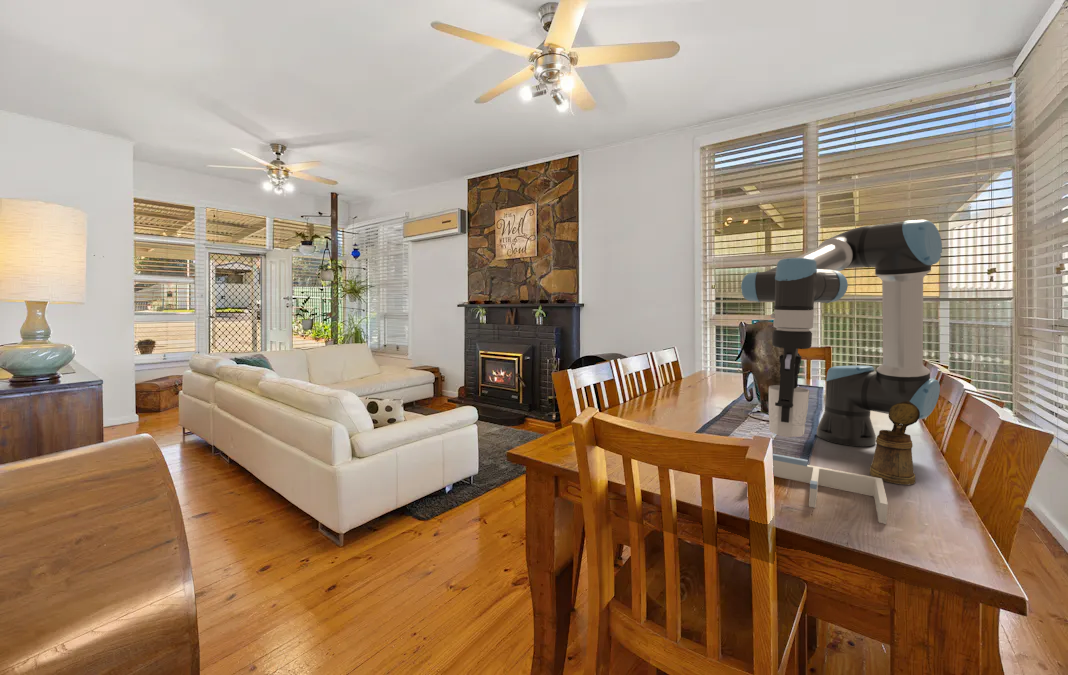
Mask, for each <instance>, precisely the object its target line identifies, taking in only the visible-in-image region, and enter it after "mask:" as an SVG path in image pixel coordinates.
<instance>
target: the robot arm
mask: <svg viewBox="0 0 1068 675" xmlns="http://www.w3.org/2000/svg"><path fill="white" fill-rule="evenodd" d="M942 253H943V242H942V237H941V234H940V231H939V229H938V228H937V226H936V225H935V224H934V223H933V221H930V220H927V219H917V220H916V219H915V220H913V219H912V220H909V219H907V220H905V221H896V222H888V223H881V224H880V223H879V224H874V225H873V224H872V225H864V226H859V227H855V228H853V229H849V230H847V231H844V232H841V233H838V234H837V235H835V236H831V237H829V238H828V239H825V240H824V241H822V242H821V243H819V245H818V247H817V248H814V249H812V250H810V251H807V252H805V253H803V254H800V255H799V256H797V257H789V258H782V259H779V260H778V261H777V263H776V266H775V267H772V268H771V269H769V270H766V271H756V272H749V273H747V274H746V275H744V277H743V278H742V281H741V285H740V289H741V295H742V297H743V298H744V299H745V300H746V301H748V302H757V303H774V307H773V309H774V310H773V312H774V313H771V314H770V318H771V319H773V327H774V328H776V329H774V330H773V331H772V338H771V339H772V341H771V345H772V346H773V347H774V348H781V349H783V354H780V355H779V375H780V376H779V385H780V388H779V400H778V403H776V402H775V406H779V411H778V429H777V434H776V436H779V437H785V438H793V437H792V424H793V394H794V389H795V388H796V387H799V386H798V384H799V382H798V381H799V375H800V371H801V364H802V355H800V353H799V349H801V350H806V349H810V348H811V347H812V342H813V339H812V338H813V332H812V331H811V330H812V328H814V316H815V315H814V314H815V308H814V306H815V303H822V304H824V303H825V304H829V303H835V302H837V301H839V300H840V299H841V298H843V297H844V296H845V295H846V292H847V291H848V286H849V284H848V279H847V277H846V276H845V275H844V274H843V273H841V272H840V271H843V270H845V269H855V268H861V269H862V268H867V269H868V268H875V269H874V270H875V271H874V272H875V273H874V274H875V276H876V277H877V278H878V279H880V280H881V281H882V282H881V288H882V289H881V292H882V293H881V294H882V296H881V297H882V298H881V300H882V303H881V304H882V364H880V365H879V366H878V367H876V371H875V368H874V366H872V365H858V364H857V365H854V364H852V365H836V366H832V367H830V368H829V369H828V370H827V372H826V379H825V384H826V385H825V395H824V396H825V397H824V399H825V400H824V412H823V415H822V417H821V419H820V421H819V423H818V426H817V428H816V436H817V437H818V438H820V439H821V440H824V441H826V442H830V443H834V444H839V445H845V446H850V447H851V446H852V447H871V446H876V439H877V436H876V433H875V429H874V427H873V423H872V420H871V412H876V413H880V414H886V415H889V411H890V409H891V407H892V406H893V405H895V404H897V403H900V402H904V401H909V402H911V403H913V404H914V405H915V406H916V407H917V408H918V409H919V412H920V416H919V419H918V420H924V419H926V418H927V417H929V416H930V415H931V414H932V413H933V411H934V410H935V408H936V405H937V403H938V401H939V397H940V392H941V385H940V381H939V380H937V379H935V378H931V370H930V369H929V368H928V367H926V366H925V365H924V364H923V363H924V362H923V360H924V346H923V345H924V278H925V276H927V275H928V274H929V273H930V272H931V271H932V266H933V265H936V264H937V263H939V261H940V260H941V256H942ZM783 399H786V400H783Z"/></svg>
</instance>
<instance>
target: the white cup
mask: <svg viewBox="0 0 1068 675" xmlns="http://www.w3.org/2000/svg"><path fill="white" fill-rule="evenodd" d="M779 388H780V384H776V385H774V384H773V385H769V386H768V419H769V420H768V421H769V422H768V424H769V425H768V427H769V428H768V430H769V431H770V432H771V433H773V434H774V435H777V429H778V411H779V406H775V402H776V403H778V400H779ZM809 399H810V389H808V388H806V387H800V386H797V387H796V388H795V389H794V394H793V424H792V437H791V438H799V437H803V436H804V435H805V428H806V425H805V424H806V421H807V416H808V415H807V414H808V410H809V409H808V408H809V401H810V400H809ZM783 400H786V399H783Z"/></svg>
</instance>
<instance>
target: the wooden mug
mask: <svg viewBox="0 0 1068 675" xmlns="http://www.w3.org/2000/svg"><path fill="white" fill-rule="evenodd" d="M887 415H888V419H889V420H890V422H891V423H892V424H893V426H892V430H889V429H881V430H879V432H878V435H877V436H876V442H875V450H874V454H873V459H872V462H871V465H869V466H870V467H869V476H871V477H876V478H882V480H883V482H886V483H890V484H896V485H905V486H908V485H910V486H911V485H915V484H916V474H915V472H914V463H913V447H914V445H913V441H912V437H911V435H910V434H908V433H906V431H907V427H908V426H911V425H914V424H915V423H917V422H918V421H919V420H920V419H919V416H920V412H919V409H918V408H917V407H916V406H915V405H914V404H913V403H911V402H909V401H904V402H900V403H897V404H895V405H893V406H892V407H891V409H890V411H889V414H887Z"/></svg>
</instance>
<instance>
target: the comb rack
mask: <svg viewBox="0 0 1068 675" xmlns="http://www.w3.org/2000/svg"><path fill="white" fill-rule="evenodd" d="M772 454H773V466H774V476H773V477H777V478H781V479H787V480H790V481H795V482H801V483H807V484H809V496H808V498H809V500H808V507H810V508H814V509H816V506H817V500H818V499H817V498H818V491H819V486H821V487H826V488H831V489H836V490H840V491H845V492H850V493H855V494H861V495H863V496H864V495H866V496H870V497H873V498H874V503H875V508H876V515H877V521H878V523H881V524H884V525H886V524H887V519H888V508H889V507H888V506H889V503H888V499H887V495H886V490H885V486H884V485H885V484H884V481H883V480H882V478H876V477H873V476H871V475H866V474H865V475H864V474H860V473H854V472H849V471H848V472H847V471H844V470H837V469H833V468H832V469H831V468H827V467H822V466H818V465H817V466H816V465H809V464H808V463H809V460H808V459H804V458H798V457H793V456H788V455H783V454H776V453H772Z"/></svg>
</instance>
